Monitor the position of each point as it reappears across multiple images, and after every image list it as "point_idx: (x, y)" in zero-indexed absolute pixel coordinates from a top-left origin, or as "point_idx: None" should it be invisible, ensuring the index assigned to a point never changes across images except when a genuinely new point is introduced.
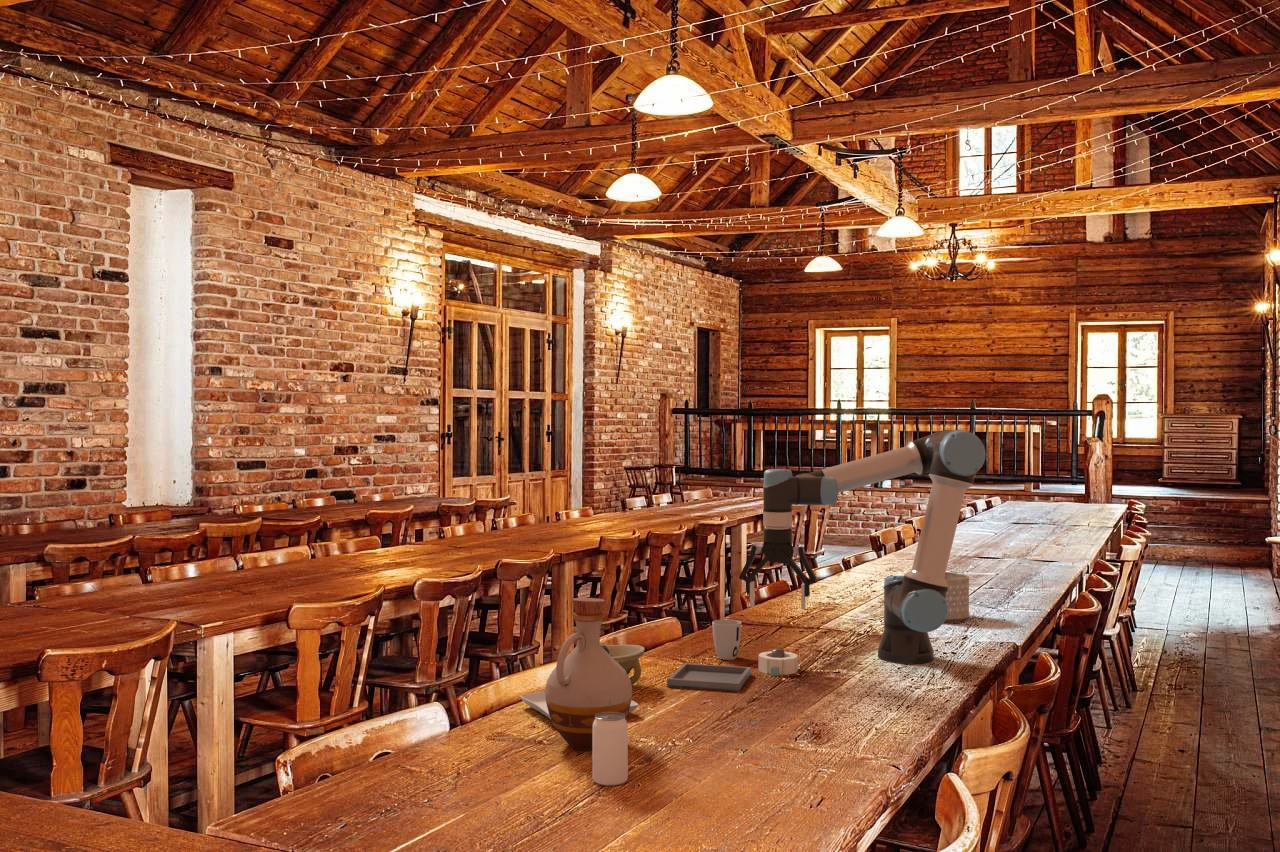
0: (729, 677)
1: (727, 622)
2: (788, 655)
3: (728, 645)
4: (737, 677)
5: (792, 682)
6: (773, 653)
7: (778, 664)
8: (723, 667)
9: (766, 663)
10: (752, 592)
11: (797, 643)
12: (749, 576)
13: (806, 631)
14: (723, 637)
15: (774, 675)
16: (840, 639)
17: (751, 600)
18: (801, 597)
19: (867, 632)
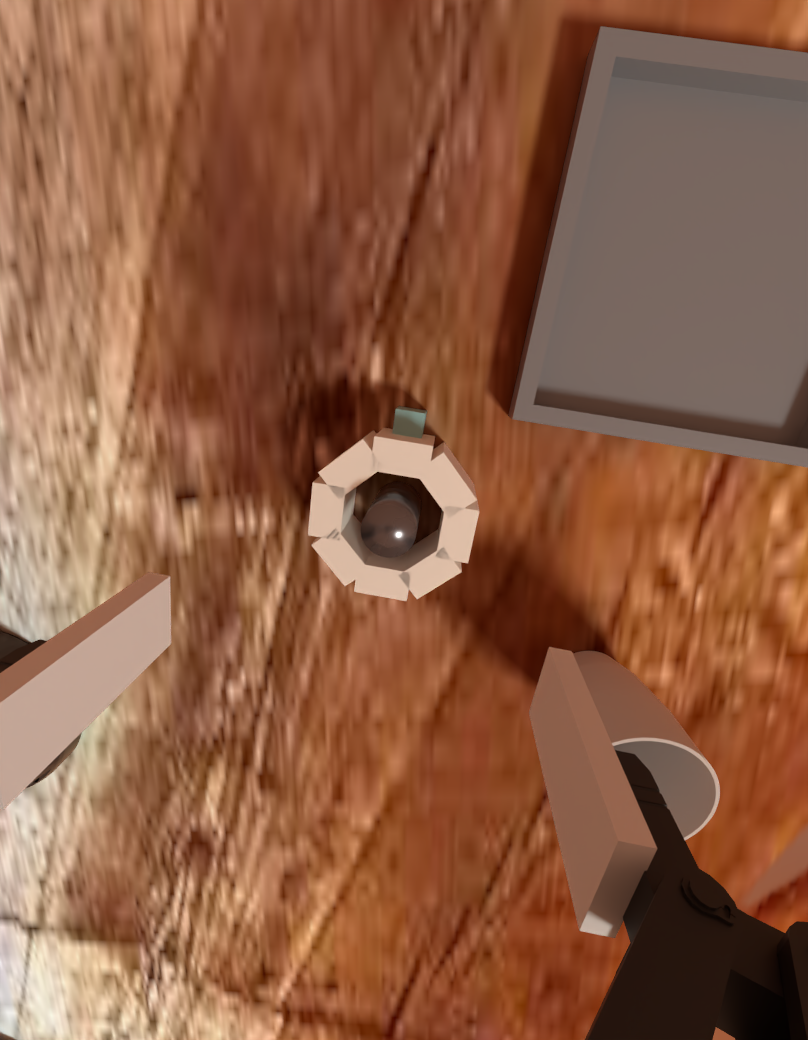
0: (612, 319)
1: None
2: (348, 541)
3: (603, 675)
4: (575, 324)
5: (339, 302)
6: (411, 511)
7: (392, 435)
8: (637, 421)
9: (444, 449)
10: (584, 740)
11: (338, 863)
12: (707, 958)
13: (316, 983)
14: (639, 697)
15: (413, 408)
16: (215, 902)
17: (572, 685)
18: (100, 626)
19: (151, 967)
